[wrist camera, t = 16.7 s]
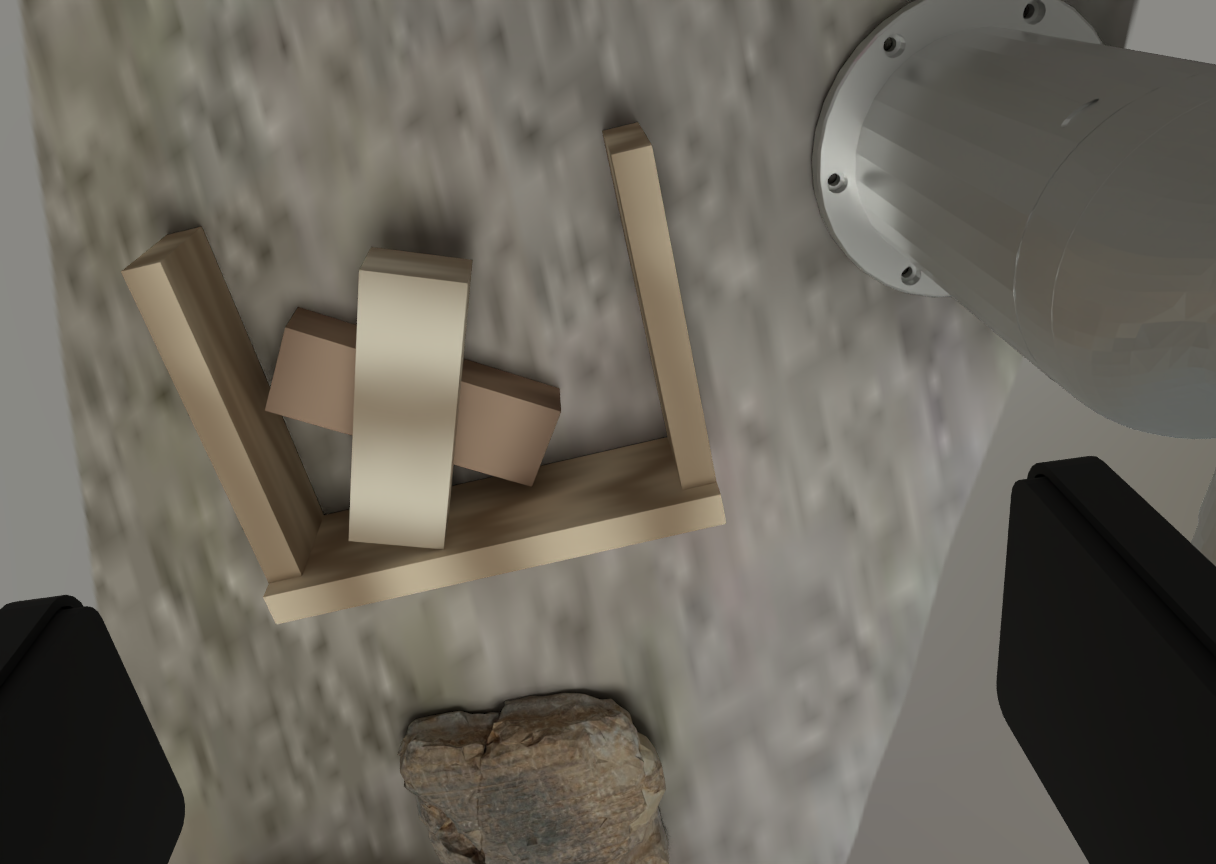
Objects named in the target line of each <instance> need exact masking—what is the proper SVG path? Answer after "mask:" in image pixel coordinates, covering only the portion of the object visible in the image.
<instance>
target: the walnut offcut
mask: <svg viewBox="0 0 1216 864" xmlns="http://www.w3.org/2000/svg"><path fill="white" fill-rule="evenodd" d="M356 338H357V325H354V324H351V323H348V322H345V321H341V320H338V319H335V318H332V317H329V316H325V315H322V314H319V313H316V312H313V311H309V310H306V309H303V308H300V307H298V308H297V310H296V311H295V313H294V314H293V316H292V317H291V319H290V321H289V322H288V324H287V325H286V327H285V330H284V334H283V338H282V343H281V347H280V351H279V355H278V359H277V363H276V367H275V371H274V375H273V379H272V383H271V388H270V392H269V396H268V400H267V404H266V408H265V411H268V412H272V413H275V414H279V415H282V416H286V417H289V418H293V419H296V420H300V421H303V422H307V423H310V424H314V425H317V426H321V427H324V428H328V429H331V430H335V431H338V432H342V433H345V434H349V435H352V436H353V416H354V390H355V364H356ZM560 413H561V403H560V389H559V388H556V387H553V386H550V385H547V384H543V383H540V382H537V381H534V380H531V379H527V378H524V377H521V376H518V375H515V374H511V373H508V372H505V371H502V370H499V369H495V368H492V367H489V366H486V365H482V364H479V363H476V362H473V361H470V360H466V359H463V368H462V379H461V389H460V400H459V411H458V422H457V433H456V443H455V454H454V465H457V466H461V467H464V468H468V469H471V470H475V471H478V472H482V473H485V474H489V475H492V476H496V477H499V478H503V479H506V480H510V481H513V482H517V483H520V484H524V485H527V486H531V487H532V485H533V482H534V480H535V477H536V475H537V472H538V470H539V467H540V465H541V462H542V459H543V457H544V454H545V452H546V449H547V447H548V444H549V441H550V439H551V436H552V434H553V431H554V429H555V426H556V424H557V421H558V418H559V416H560Z"/></svg>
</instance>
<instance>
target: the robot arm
mask: <svg viewBox="0 0 1216 864" xmlns="http://www.w3.org/2000/svg"><path fill="white" fill-rule="evenodd" d="M1027 5H1028V6H1029V13H1028V14H1027V16H1026V17H1023V12H1024V8H1025V7H1026V6H1027ZM889 37H890V38H892V41H893V43H892V47H891V48H890V49H889V50H887V51H885V50H884V48H883V46H884V42H885V40H886V39H887V38H889ZM812 171H813V186H814V192H815V196H816V200H817V203H818V207H819V211H820V214H821V217H822V219H823V221H824V223H825V225H826V227H827V229H828V231H829V233H830V235H831V237H832V239H833V240H834V241H835V242H836V243H837V245H838V246H839V247H840V248H841V250H842V251H843V252H844V253H845V254H846V256H847V257H848V258H849V259H850V260H851V261H852V262H853V263H854V264H856V265H857V266H858V267H859V268H860V269H861V270H862V271H863V272H864V273H866V274H868V275H869V276H871V277H872V278H874V279H876V280H877V281H879V282H880V283H882V284H884V285H886V286H888V287H891V288H893V289H896V290H898V291H901V292H904V293H908V294H914V295H921V296H928V297H953V298H954V299H956V300H957V301H958V302H959V303H960V304H962V305H963V306H964V307H965V308H966V309H968V310H969V311H970V312H971V313H972V314H974V315H975V316H976V317H977V318H978V319H980V320H981V321H982V322H983V323H984V324H986V325H987V326H988V327H989V328H990V329H992V330H993V331H994V332H995V333H996V334H998V335H999V336H1000V337H1001V338H1002V339H1003V340H1005V341H1006V342H1007V343H1008V344H1009V345H1011V346H1012V347H1013V348H1014V349H1015V350H1017V351H1018V352H1019V353H1020V354H1021V355H1023V356H1024V357H1025V358H1026V359H1028V360H1029V361H1030V362H1031V363H1032V364H1034V365H1035V366H1036V367H1037V368H1038V369H1040V370H1041V371H1042V372H1043V373H1044V374H1045V375H1047V376H1048V377H1049V378H1050V379H1052V380H1053V381H1055V382H1056V383H1058V384H1059V385H1060V386H1061V387H1062V388H1063V389H1065V390H1066V391H1067V392H1068V393H1070V394H1071V395H1072V396H1073V397H1074V398H1076V399H1077V400H1078V401H1080V402H1081V403H1083V404H1084V405H1085V406H1087V407H1088V408H1090V409H1092V410H1093V411H1095V412H1096V413H1098V414H1100V415H1102V416H1104V417H1105V418H1107V419H1109V420H1112V421H1114V422H1116V423H1118V424H1121V425H1123V426H1126V427H1129V428H1132V429H1135V430H1139V431H1142V432H1147V433H1152V434H1157V435H1162V436H1169V437H1175V438H1188V439H1211V438H1216V65H1215V64H1209V63H1203V62H1198V61H1192V60H1186V59H1181V58H1174V57H1169V56H1163V55H1158V54H1152V53H1146V52H1141V51H1135V50H1129V49H1124V48H1118V47H1112V46H1107V45H1104V44H1103V43H1102V41H1101V39H1100V38H1099V36H1098V34H1097V33H1096V31H1095V29H1094V28H1093V27H1092V26H1091V25H1090V24H1089V23H1088V22H1087V21H1086V20H1085V19H1084V18H1083V17H1082V16H1081V15H1080V14H1079V13H1078V12H1077V11H1076V10H1075V9H1074V8H1073V7H1072V6H1070V5H1068V4H1067V3H1065V2H1063V1H1062V0H915V1H913V2H911V3H909V4H907V5H906V6H904V7H903V8H901V9H900V10H899V11H897V12H896V13H894V14H893V15H891V16H890V17H888V18H887V19H886V20H884V21H883V22H881V23H880V24H879V25H878V26H877V27H876V28H875V29H874V30H873V31H872V32H871V33H870V34H869V35H868V36H867V37H866V38H865V39H864V40H863V41H862V42H861V43H860V44H859V45H858V46H857V48H856V49H855V50H854V52H853V53H852V54H851V56H850V57H849V59H848V60H847V61H846V63H845V64H844V66H843V67H842V68H841V70H840V71H839V73H838V75H837V77H836V79H835V81H834V83H833V85H832V87H831V89H830V91H829V93H828V95H827V97H826V99H825V101H824V104H823V107H822V110H821V114H820V117H819V120H818V124H817V127H816V130H815V138H814V146H813V155H812ZM833 173H836V174H837V180H836V181H835V182H834V183H832V184H828V182H827V180H828V178H829V177H830V176H831V174H833ZM907 267H909V271H908V272H907V273H906V274H904V275H902V272H903V271H904V270H905V268H907ZM997 695H998V700H999V705H1000V708H1001V710H1002V714H1003V716H1004V718H1005V720H1006V722H1007V724H1008V726H1009V727H1010V729H1011V731H1012V732H1013V734H1014V736H1015V737H1016V739H1017V741H1018V743H1019V744H1020V746H1021V747H1022V749H1023V751H1024V753H1025V754H1026V756H1027V758H1028V760H1029V761H1030V763H1031V764H1032V766H1033V768H1034V770H1035V771H1036V773H1037V775H1038V777H1039V778H1040V780H1041V782H1042V783H1043V785H1044V787H1045V788H1046V790H1047V792H1048V794H1049V795H1050V797H1051V799H1052V801H1053V802H1054V804H1055V805H1056V807H1057V809H1058V811H1059V812H1060V814H1061V816H1062V817H1063V819H1064V821H1065V823H1066V824H1067V826H1068V828H1069V830H1070V831H1071V833H1072V835H1073V836H1074V838H1075V840H1076V841H1077V843H1078V845H1079V847H1080V848H1081V850H1082V852H1083V853H1084V855H1085V857H1086V859H1087V860H1088V862H1089V864H1216V469H1215V472H1214V474H1213V477H1212V480H1211V482H1210V485H1209V487H1208V490H1207V492H1206V495H1205V497H1204V500H1203V502H1202V505H1201V507H1200V510H1199V515H1198V526H1197V529H1196V531H1195V534H1194V536H1193V539H1192V541H1191V543H1190V542H1189V541H1188V540H1187V539H1186V538H1185V537H1184V536H1183V535H1182V534H1180V532H1178V531H1177V530H1176V529H1175V528H1174V527H1173V526H1172V525H1171V524H1170V523H1169V522H1168V521H1167V520H1166V519H1165V518H1164V517H1162V516H1161V515H1160V514H1159V513H1158V512H1157V511H1156V510H1155V509H1154V508H1153V507H1152V506H1151V505H1149V504H1148V503H1147V502H1146V501H1145V500H1144V499H1143V498H1142V497H1141V496H1140V495H1139V494H1138V493H1137V492H1136V491H1134V489H1132V488H1131V487H1130V486H1129V485H1128V484H1127V483H1126V482H1125V481H1124V480H1123V479H1122V478H1121V477H1120V476H1119V475H1117V474H1116V473H1115V472H1114V471H1113V470H1112V469H1111V468H1110V467H1109V466H1108V465H1107V464H1106V463H1105V462H1103V461H1102V460H1101V459H1099V458H1098V457H1095V456H1086V457H1079V458H1071V459H1065V460H1057V461H1049V462H1042V463H1036V464H1035V465H1033V466H1032V468H1031V469H1030V471H1029V473H1028V477H1027V479H1023V480H1018V481H1017V482H1015V484H1014V486H1013V488H1012V494H1011V504H1010V518H1009V529H1008V543H1007V555H1006V568H1005V581H1004V593H1003V606H1002V618H1001V631H1000V644H999V657H998V670H997ZM184 817H185V803H184V797H183V794H182V791H181V788H180V786H179V784H178V782H177V780H176V777H175V775H174V773H173V771H172V769H171V767H170V764H169V762H168V760H167V758H166V756H165V754H164V751H163V749H162V747H161V745H160V743H159V741H158V738H157V736H156V734H155V732H154V730H153V728H152V725H151V723H150V721H149V719H148V717H147V715H146V712H145V710H144V708H143V706H142V704H141V702H140V699H139V697H138V695H137V693H136V691H135V689H134V686H133V684H132V682H131V680H130V678H129V676H128V673H127V671H126V669H125V667H124V665H123V663H122V660H121V658H120V656H119V654H118V652H117V650H116V647H115V645H114V643H113V641H112V639H111V637H110V634H109V632H108V630H107V628H106V626H105V624H104V621H103V619H102V617H101V616H100V614H99V613H98V611H96V610H95V609H94V608H92V607H88V606H86V607H84V606H83V605H82V603H81V602H80V601H78V600H77V599H76V598H75V597H73V596H69V595H62V596H55V597H47V598H40V599H32V600H25V601H17V602H12V603H9V604H6V605H5V606H4V607H3V608H1V609H0V864H168V862H169V859H170V857H171V855H172V852H173V850H174V847H175V845H176V843H177V840H178V838H179V835H180V833H181V830H182V827H183V823H184Z"/></svg>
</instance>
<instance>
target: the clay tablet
mask: <svg viewBox="0 0 1216 864" xmlns="http://www.w3.org/2000/svg"><path fill="white" fill-rule="evenodd" d="M397 755H399V756H401V758H400V773H401V775H402V776H403V778H404V780H405V781H404V787H405V788H406V789H407V790H409V791H410V792H411V793H413V794H414V795H416V800H417V807H418V814H419V818H420V819H421V821H422V822H423V823H424V824H425V825H426V827H427V829H428V831H429V839H430V841H431V843H432V844H433V846H434V848H435V852H436V854H437V856H438V857H439V859H440V861H441V862H442V863H444V864H669V854H668V840H667V836H666V833H665V830H664V827H663V825H662V820H661V815H660V811H659V808H658V805H659V802H660V800H661V798H662V796H663V794H664V792H665V790H666V786H665V779H664V774H663V769H662V764H661V762H660V759H659V757H658V755H657V752H656V750H655V748H654V746H653V745H652V743H651V742H650V741H649V739H648V738H647V737H646V736H644V735H642V734H641V733H639V732H637V729H636V728H635V727H634V725H633V723H632V720H631V716H630V713H629V712H628V711H627V710H625V709H623V708H622V707H620V706H619V705H618V704H617V703H616V702H614V701H613V700H612V699H603V700H601V699H598V698H595V697H592V696H589V695H586V694H578V693H557V694H552V695H547V696H527V697H523V698H520V699H515V700H509V701H505V705H504V708H503V709H502V711H501V713H497V712H489V713H487V714H469V713H466V712H463V711H455V712H449V713H443V714H438V715H432V716H427V717H423V718H418V719H415V720H414V721H413V722H412V723H411V724H410V725H409V726H408V731H407V734H406V736H405V738H404V739H403V741H402V743H401V746H400V749H399V751H398V754H397Z"/></svg>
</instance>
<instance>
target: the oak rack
mask: <svg viewBox="0 0 1216 864" xmlns="http://www.w3.org/2000/svg"><path fill="white" fill-rule="evenodd" d="M602 133H603V138H604V142H605V147H606V152H607V156H608V161H609V166H610V170H611V175H612V180H613V184H614V189H615V194H616V198H617V203H618V208H619V212H620V217H621V222H622V226H623V231H624V236H625V240H626V245H627V250H628V254H629V259H630V264H631V268H632V273H633V278H634V282H635V287H636V292H637V296H638V301H639V306H640V310H641V315H642V320H643V324H644V329H645V334H646V338H647V343H648V348H649V352H650V357H651V362H652V366H653V371H654V376H655V380H656V385H657V390H658V394H659V399H660V404H661V408H662V413H663V418H664V422H665V427H666V432H667V436H668V437H666V438H661V439H657V440H653V441H648V442H644V443H639V444H635V445H631V446H626V447H622V448H617V449H613V450H609V451H604V452H600V453H595V454H591V455H587V456H582V457H578V458H573V459H569V460H565V461H560V462H556V463H551V464H547V465H543V466H540V467H539V470H538V472H537V475H536V477H535V480H534V482H533V485H532V487H531V486H527V485H524V484H520V483H517V482H513V481H510V480H506V479H503V478H499V477H496V476H494V477H490V478H485V479H481V480H477V481H472V482H468V483H464V484H459V485H455V486H452V487H451V497H450V508H449V517H448V523H447V530H446V537H445V543H444V549H434V548H423V547H411V546H400V545H388V544H377V543H366V542H354V541H349V519H350V509H349V510H345V511H340V512H336V513H332V514H327V515H324V514H323V512H322V510H321V507H320V505H319V502H318V500H317V498H316V495H315V493H314V491H313V488H312V486H311V484H310V481H309V479H308V477H307V474H306V472H305V469H304V467H303V465H302V462H301V460H300V458H299V455H298V453H297V451H296V448H295V446H294V443H293V441H292V439H291V436H290V434H289V432H288V429H287V427H286V425H285V422H284V420H283V417H282V415H279V414H275V413H272V412H268V411H265V408H266V404H267V400H268V396H269V392H270V387H269V384H268V382H267V380H266V377H265V375H264V373H263V370H262V368H261V366H260V363H259V361H258V358H257V356H256V354H255V351H254V349H253V347H252V344H251V342H250V340H249V337H248V335H247V332H246V330H245V328H244V325H243V323H242V321H241V318H240V316H239V314H238V311H237V309H236V307H235V304H234V302H233V299H232V297H231V295H230V292H229V290H228V288H227V285H226V283H225V281H224V278H223V276H222V273H221V271H220V269H219V266H218V264H217V262H216V259H215V257H214V255H213V252H212V250H211V247H210V245H209V243H208V240H207V238H206V236H205V233H204V231H203V229H202V227H198V228H194V229H189V230H185V231H181V232H177V233H173V234H168V235H166V236H165V237H164V238H162V239H161V240H160V241H159V242H157V243H156V244H155V245H154V246H152V247H151V248H150V249H149V250H147V251H146V252H145V253H144V254H142V255H141V256H140V257H139V258H137V259H136V260H135V261H134V262H132V263H131V264H130V265H129V266H127V267H126V268H125V269H124V270H122V271H121V273H122V275H123V277H124V279H125V281H126V283H127V285H128V287H129V289H130V292H131V294H132V296H133V298H134V300H135V302H136V304H137V306H138V308H139V311H140V313H141V315H142V317H143V319H144V321H145V323H146V325H147V327H148V330H149V332H150V334H151V336H152V338H153V340H154V342H155V344H156V346H157V349H158V351H159V353H160V355H161V357H162V359H163V361H164V363H165V365H166V367H167V370H168V372H169V374H170V376H171V378H172V380H173V382H174V384H175V386H176V389H177V391H178V393H179V395H180V397H181V399H182V401H183V403H184V405H185V408H186V410H187V412H188V414H189V416H190V418H191V420H192V422H193V424H194V427H195V429H196V431H197V433H198V435H199V437H200V439H201V441H202V443H203V446H204V448H205V450H206V452H207V454H208V456H209V458H210V460H211V462H212V464H213V467H214V469H215V471H216V473H217V475H218V477H219V479H220V481H221V483H222V486H223V488H224V490H225V492H226V494H227V496H228V498H229V500H230V502H231V505H232V507H233V509H234V511H235V513H236V515H237V517H238V519H239V521H240V524H241V526H242V528H243V530H244V532H245V534H246V536H247V538H248V540H249V543H250V545H251V547H252V549H253V551H254V553H255V555H256V557H257V559H258V561H259V564H260V566H261V568H262V570H263V572H264V574H265V576H266V578H267V580H268V583H269V585H268V587H267V589H266V592H265V594H264V597H263V598H264V600H265V602H266V604H267V606H268V608H269V610H270V612H271V614H272V617H273V619H274V621H275V623H276V624H280V623H285V622H289V621H294V620H298V619H303V618H307V617H312V616H316V615H320V614H325V613H329V612H334V611H338V610H343V609H347V608H352V607H356V606H361V605H365V604H370V603H374V602H379V601H383V600H387V599H392V598H396V597H401V596H405V595H410V594H414V593H419V592H423V591H428V590H432V589H437V588H441V587H446V586H450V585H454V584H459V583H463V582H468V581H472V580H477V579H481V578H486V577H490V576H495V575H499V574H504V573H508V572H513V571H517V570H521V569H526V568H530V567H535V566H539V565H544V564H548V563H553V562H557V561H562V560H566V559H571V558H575V557H580V556H584V555H588V554H593V553H597V552H602V551H606V550H611V549H615V548H620V547H624V546H629V545H633V544H638V543H642V542H647V541H651V540H655V539H660V538H664V537H669V536H673V535H678V534H682V533H687V532H691V531H696V530H700V529H705V528H709V527H713V526H718V525H722V524H726V520H725V514H724V509H723V504H722V499H721V494H720V491H719V488H718V485H717V482H716V477H715V472H714V467H713V461H712V456H711V451H710V446H709V440H708V435H707V430H706V425H705V420H704V414H703V409H702V404H701V399H700V394H699V388H698V383H697V378H696V373H695V367H694V362H693V357H692V352H691V347H690V341H689V336H688V331H687V326H686V321H685V315H684V310H683V305H682V300H681V295H680V289H679V284H678V279H677V274H676V268H675V263H674V258H673V253H672V248H671V242H670V237H669V232H668V227H667V222H666V216H665V211H664V206H663V201H662V195H661V190H660V185H659V180H658V175H657V169H656V164H655V159H654V154H653V149H652V145H651V143H650V141H649V140H648V138H647V136H646V135H645V133H644V131H643V130H642V128H641V126H640V125H639V123H638V122H637V123H633V124H628V125H624V126H620V127H616V128H612V129H607V130H603V131H602Z"/></svg>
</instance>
